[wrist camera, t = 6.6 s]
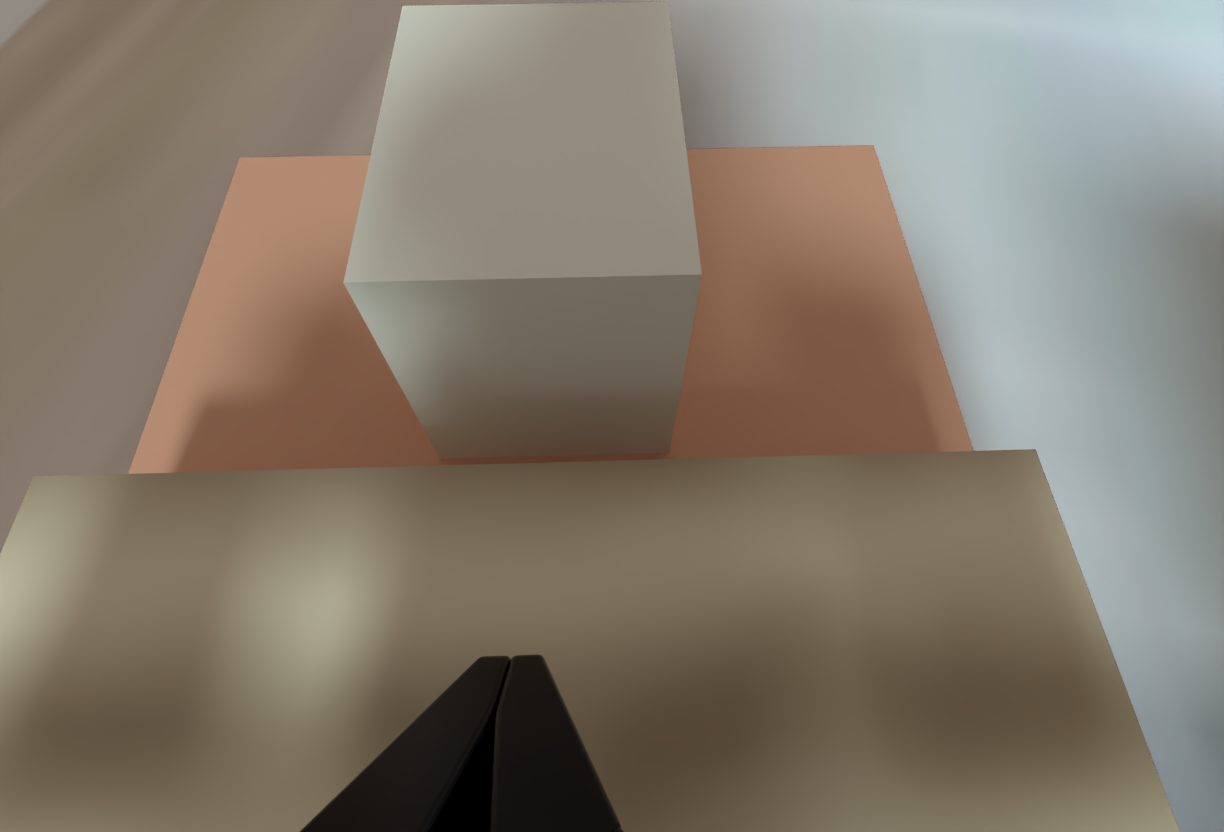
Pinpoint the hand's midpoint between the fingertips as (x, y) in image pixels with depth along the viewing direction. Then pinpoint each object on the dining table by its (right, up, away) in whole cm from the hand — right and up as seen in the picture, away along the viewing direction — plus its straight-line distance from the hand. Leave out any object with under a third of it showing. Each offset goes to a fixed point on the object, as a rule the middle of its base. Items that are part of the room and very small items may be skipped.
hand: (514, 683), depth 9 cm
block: (0, +4, +5) cm, 7 cm away
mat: (0, +7, +11) cm, 13 cm away
